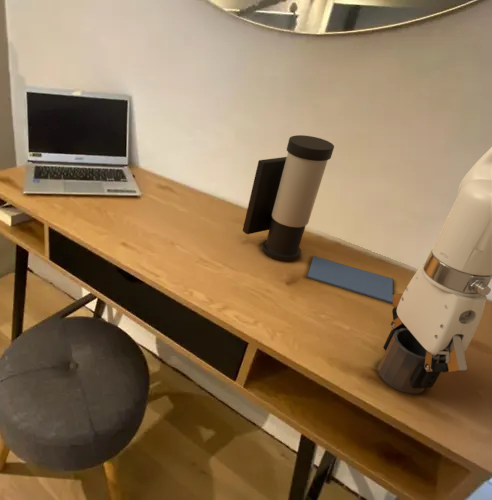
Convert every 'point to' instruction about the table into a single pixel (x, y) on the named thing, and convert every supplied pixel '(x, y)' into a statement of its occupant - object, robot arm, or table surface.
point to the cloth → (352, 279)
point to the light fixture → (287, 195)
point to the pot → (402, 361)
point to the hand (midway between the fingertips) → (406, 366)
